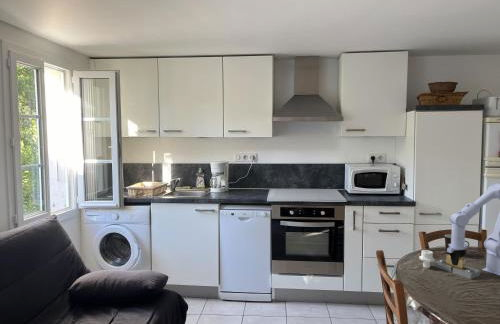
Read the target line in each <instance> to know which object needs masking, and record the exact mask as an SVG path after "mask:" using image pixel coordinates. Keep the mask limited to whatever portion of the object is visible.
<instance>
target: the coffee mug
mask: <svg viewBox="0 0 500 324" xmlns="http://www.w3.org/2000/svg"><path fill="white" fill-rule="evenodd" d="M464 243H466V244H467V248H468V247H469V246H470V242H469V241H467V240H465V242H464ZM444 244H445V245H444V246H445V253H446V255H449V253H448V252H447V248H449V247H450V246H449V244H451V234H449V233H448V234H445V235H444ZM467 248H465V249H464V250H466V249H467Z"/></svg>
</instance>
